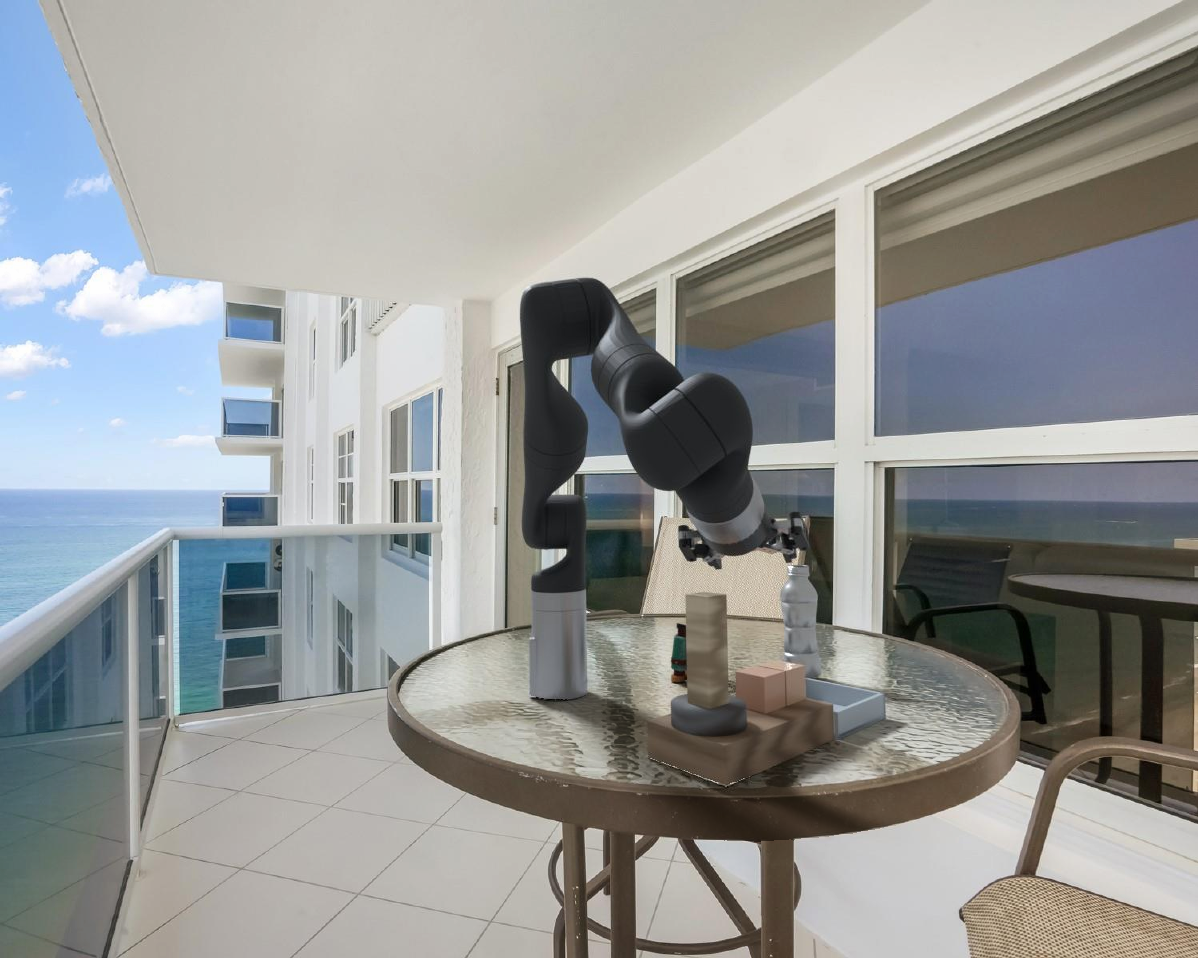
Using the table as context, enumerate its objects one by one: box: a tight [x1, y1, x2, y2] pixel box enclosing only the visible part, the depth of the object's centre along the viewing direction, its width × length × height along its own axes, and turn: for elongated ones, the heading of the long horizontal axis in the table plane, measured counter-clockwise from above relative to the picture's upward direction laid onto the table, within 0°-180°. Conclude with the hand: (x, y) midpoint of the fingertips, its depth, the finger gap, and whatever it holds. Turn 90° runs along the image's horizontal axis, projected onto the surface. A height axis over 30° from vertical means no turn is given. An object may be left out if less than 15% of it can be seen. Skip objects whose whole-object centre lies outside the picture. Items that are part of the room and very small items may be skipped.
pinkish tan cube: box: [734, 665, 786, 714], centre depth 87 cm, size 4×4×4 cm
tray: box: [805, 678, 887, 740], centre depth 96 cm, size 13×13×4 cm
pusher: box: [670, 591, 747, 737], centre depth 80 cm, size 9×9×16 cm
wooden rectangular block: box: [646, 693, 835, 785], centre depth 84 cm, size 22×12×4 cm, turn 131°
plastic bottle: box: [779, 564, 822, 679], centre depth 119 cm, size 6×7×20 cm
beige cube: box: [756, 659, 806, 706], centre depth 90 cm, size 4×4×4 cm
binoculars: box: [670, 622, 687, 683], centre depth 118 cm, size 9×11×10 cm
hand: (752, 558), depth 82 cm, fingers open, 8 cm apart
